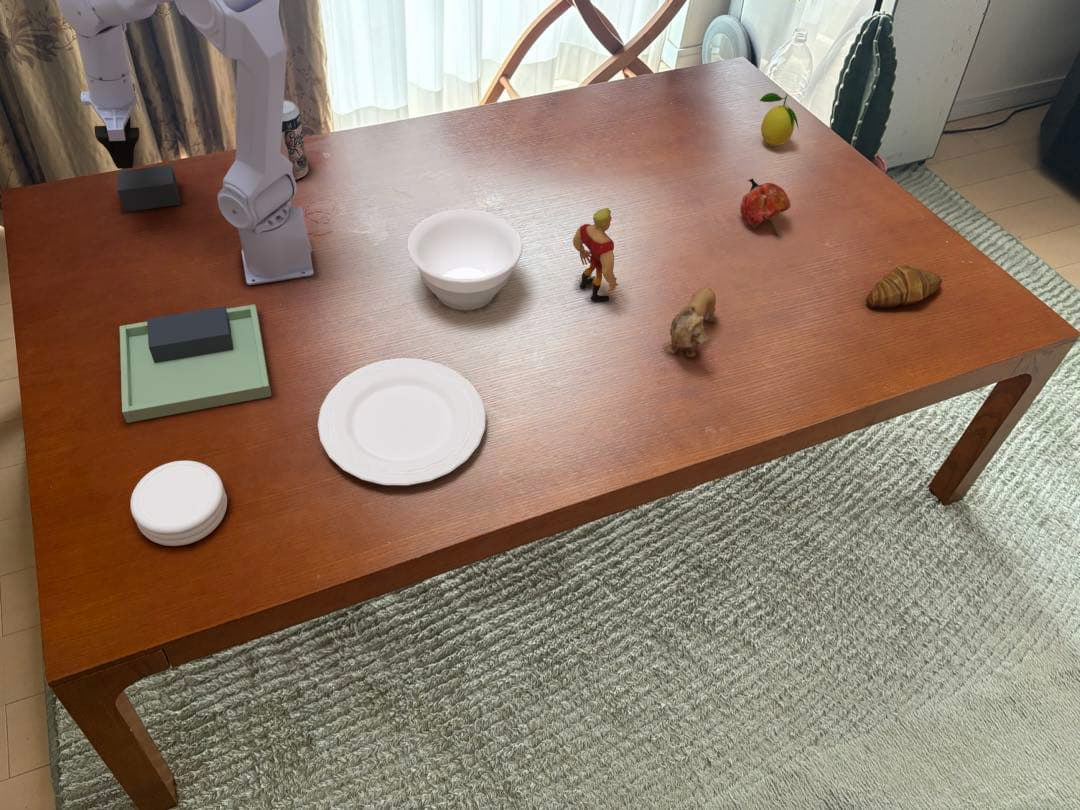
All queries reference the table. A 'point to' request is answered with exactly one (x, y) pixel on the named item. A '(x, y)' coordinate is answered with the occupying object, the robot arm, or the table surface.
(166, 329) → the pad
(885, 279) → the croissant
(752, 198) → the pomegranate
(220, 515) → the white short cylinder
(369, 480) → the plate
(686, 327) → the lion figurine
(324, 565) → the table surface
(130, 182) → the loose pad
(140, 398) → the tray
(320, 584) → the table surface
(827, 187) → the table surface
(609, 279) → the action figure
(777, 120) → the lemon
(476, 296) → the bowl
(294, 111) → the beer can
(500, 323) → the table surface
